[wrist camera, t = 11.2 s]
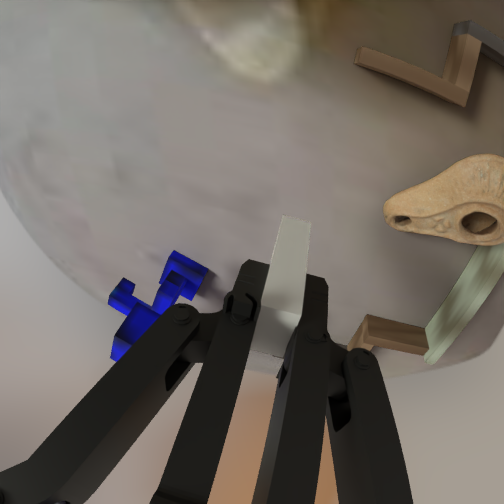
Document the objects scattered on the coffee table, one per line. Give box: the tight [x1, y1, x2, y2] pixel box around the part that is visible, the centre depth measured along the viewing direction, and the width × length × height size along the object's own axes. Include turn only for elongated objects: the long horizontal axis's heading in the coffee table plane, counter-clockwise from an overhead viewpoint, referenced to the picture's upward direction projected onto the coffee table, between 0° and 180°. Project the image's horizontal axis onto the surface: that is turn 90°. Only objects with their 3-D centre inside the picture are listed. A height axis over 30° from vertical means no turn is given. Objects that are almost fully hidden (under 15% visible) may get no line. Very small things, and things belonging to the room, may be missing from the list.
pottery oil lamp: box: [383, 154, 504, 246], centre depth 19 cm, size 9×12×7 cm
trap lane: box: [272, 20, 504, 364], centre depth 23 cm, size 35×18×4 cm, turn 169°
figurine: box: [108, 250, 208, 362], centre depth 28 cm, size 8×8×12 cm
